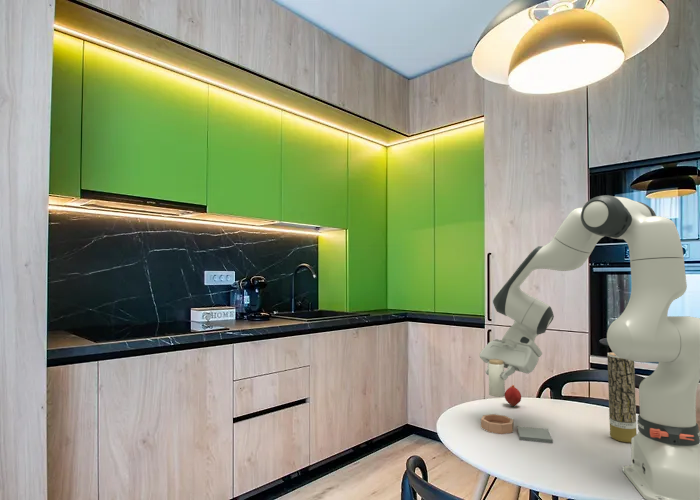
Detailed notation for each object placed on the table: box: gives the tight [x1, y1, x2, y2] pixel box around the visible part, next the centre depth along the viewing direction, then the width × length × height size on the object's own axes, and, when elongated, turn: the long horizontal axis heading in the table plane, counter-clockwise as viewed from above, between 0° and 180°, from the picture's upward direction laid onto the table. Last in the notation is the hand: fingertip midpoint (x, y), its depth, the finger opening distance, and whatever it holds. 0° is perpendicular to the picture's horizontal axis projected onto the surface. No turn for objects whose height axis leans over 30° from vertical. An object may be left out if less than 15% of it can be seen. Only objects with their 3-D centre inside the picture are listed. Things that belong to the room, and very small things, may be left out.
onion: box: [504, 384, 522, 407], centre depth 162 cm, size 6×6×8 cm
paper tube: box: [606, 351, 638, 444], centre depth 131 cm, size 7×7×25 cm
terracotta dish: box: [480, 413, 515, 435], centre depth 139 cm, size 9×9×3 cm
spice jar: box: [487, 359, 506, 398], centre depth 140 cm, size 5×5×11 cm
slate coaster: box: [516, 426, 554, 444], centre depth 133 cm, size 9×9×1 cm
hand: (495, 376), depth 140 cm, fingers closed on spice jar, 5 cm apart
